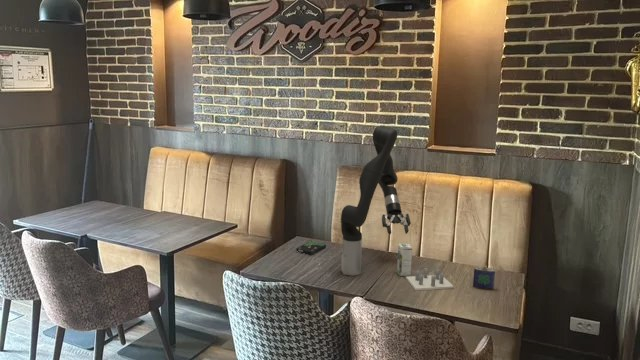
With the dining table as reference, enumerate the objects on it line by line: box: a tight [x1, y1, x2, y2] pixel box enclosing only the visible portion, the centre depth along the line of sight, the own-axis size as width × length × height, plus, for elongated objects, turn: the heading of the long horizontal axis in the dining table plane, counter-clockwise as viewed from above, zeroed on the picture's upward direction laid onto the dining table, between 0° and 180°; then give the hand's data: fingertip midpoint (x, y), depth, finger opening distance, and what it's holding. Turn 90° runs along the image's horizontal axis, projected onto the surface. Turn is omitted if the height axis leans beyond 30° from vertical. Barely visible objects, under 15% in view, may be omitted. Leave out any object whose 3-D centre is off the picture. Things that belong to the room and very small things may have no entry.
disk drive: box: [295, 241, 327, 256], centre depth 287 cm, size 10×3×15 cm
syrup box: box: [396, 243, 413, 277], centre depth 253 cm, size 6×6×14 cm
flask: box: [472, 265, 496, 291], centre depth 238 cm, size 9×3×11 cm, turn 74°
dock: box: [405, 267, 454, 291], centre depth 243 cm, size 18×14×6 cm
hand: (398, 233), depth 262 cm, fingers open, 8 cm apart
